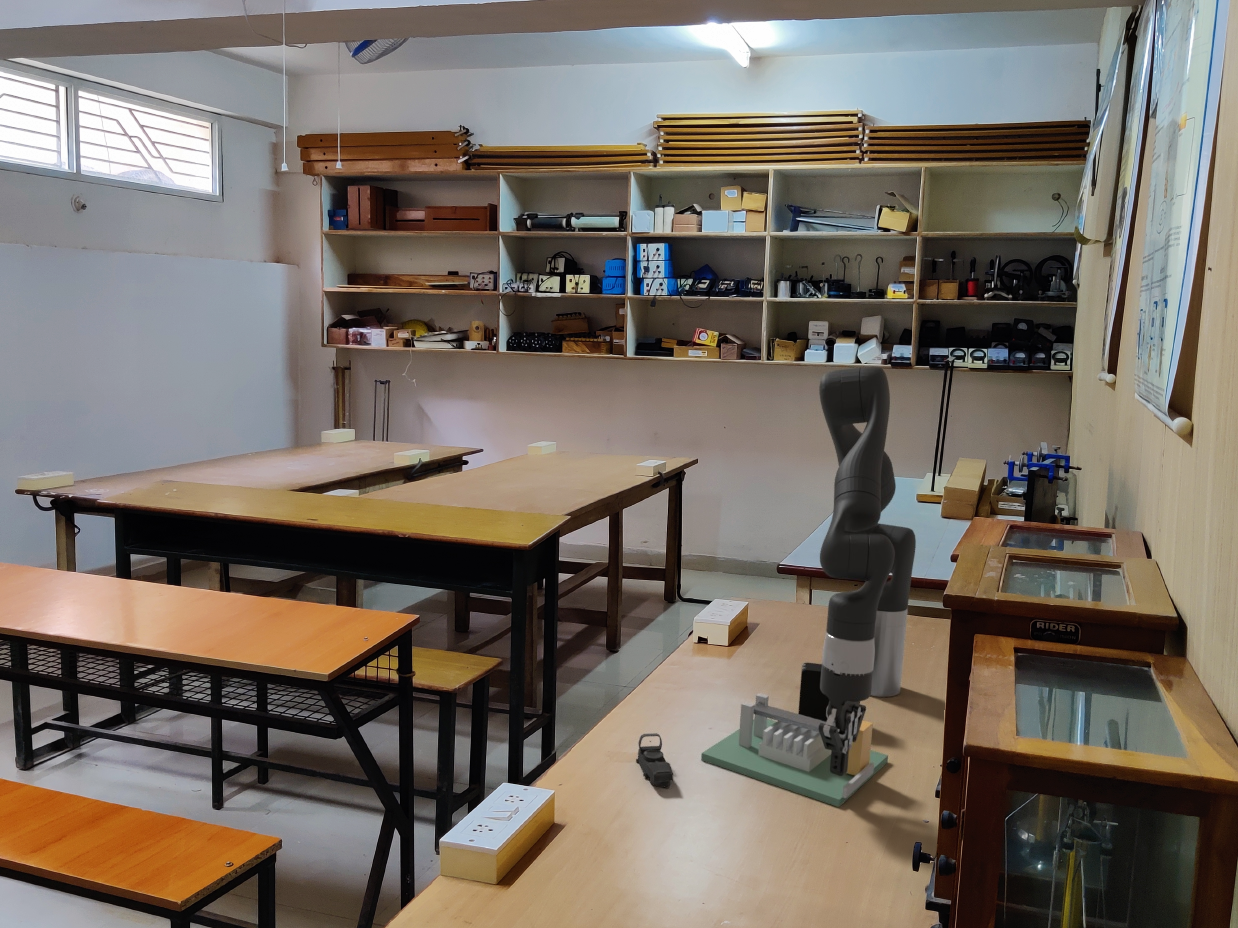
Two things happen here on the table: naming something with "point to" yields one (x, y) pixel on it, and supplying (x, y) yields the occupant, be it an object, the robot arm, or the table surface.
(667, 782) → the reflex sight
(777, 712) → the strap
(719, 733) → the table surface
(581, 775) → the table surface
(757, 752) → the slotted rack on board
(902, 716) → the table surface
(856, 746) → the clip
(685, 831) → the table surface
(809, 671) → the electronic device
